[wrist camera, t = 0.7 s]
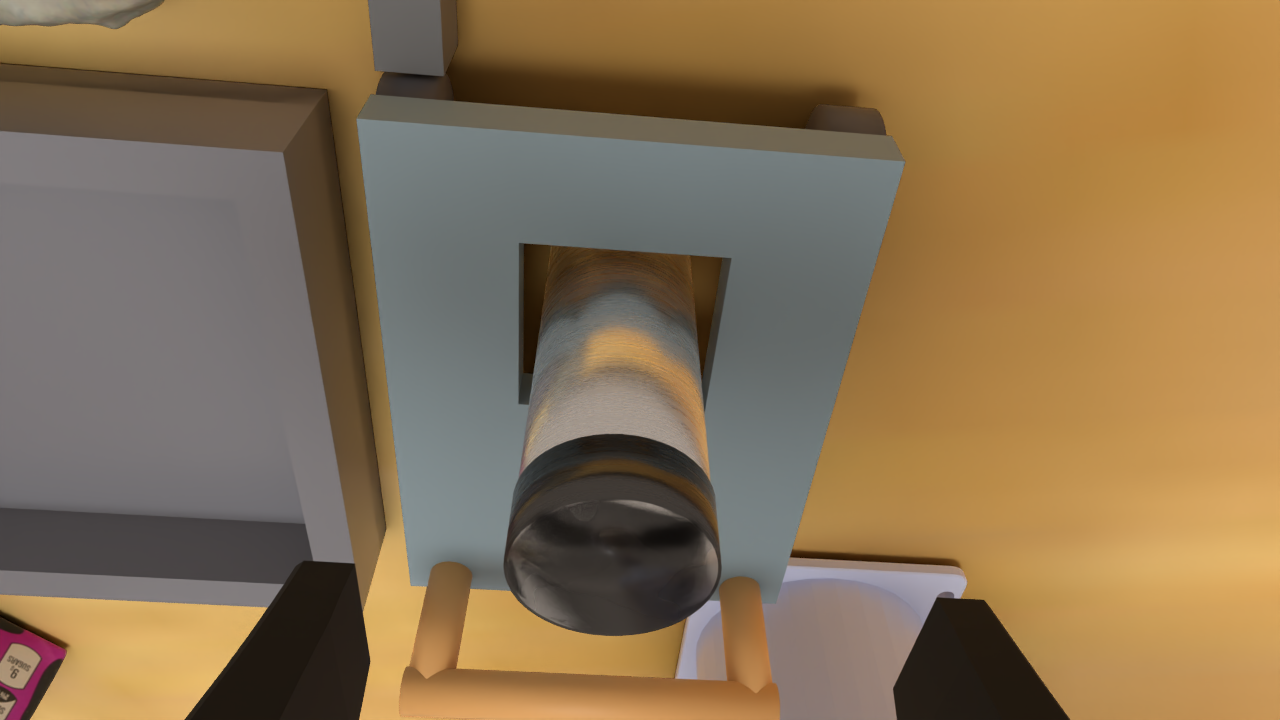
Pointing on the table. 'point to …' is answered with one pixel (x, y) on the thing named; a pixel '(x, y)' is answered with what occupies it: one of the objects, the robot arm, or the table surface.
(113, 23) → the elongated rock
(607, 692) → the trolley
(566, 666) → the table surface
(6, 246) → the tray
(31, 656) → the candy bar box
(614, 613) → the pin
